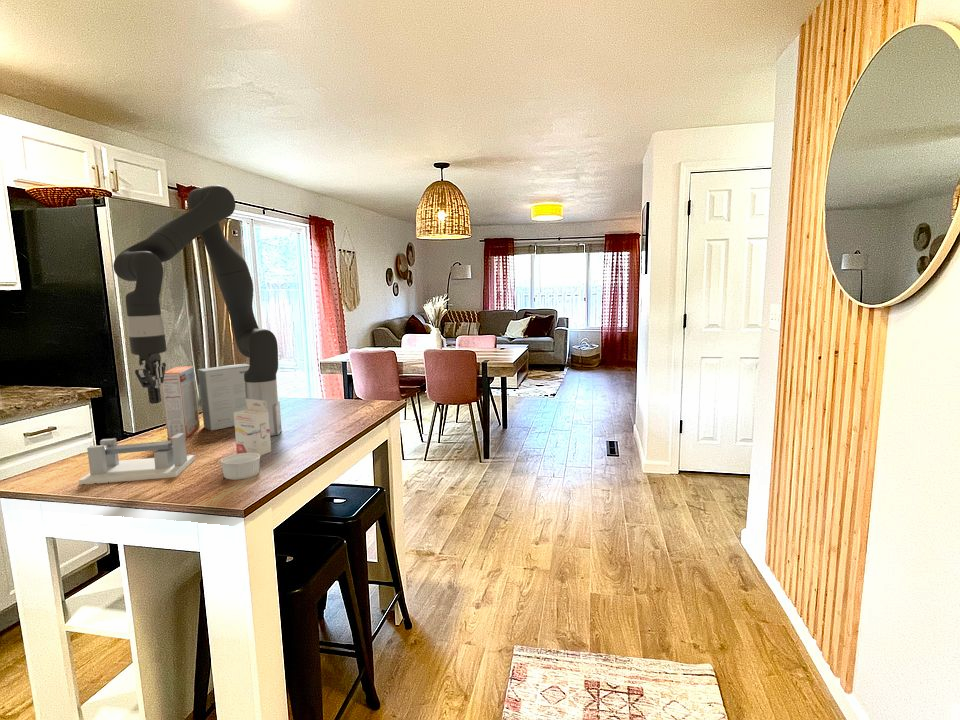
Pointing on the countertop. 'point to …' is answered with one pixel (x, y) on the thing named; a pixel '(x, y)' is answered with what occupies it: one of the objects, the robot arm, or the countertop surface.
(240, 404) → the hard drive box
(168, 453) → the base
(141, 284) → the robot arm
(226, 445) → the countertop surface
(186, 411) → the cracker box
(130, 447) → the clamp lever
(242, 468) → the ramekin
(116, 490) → the countertop surface
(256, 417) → the ink cartridge box
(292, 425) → the countertop surface
